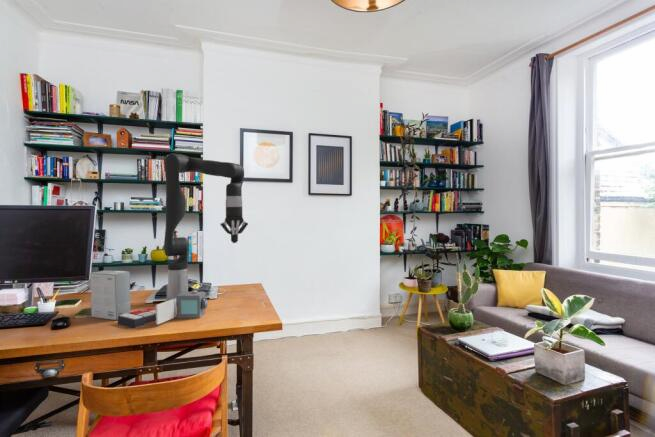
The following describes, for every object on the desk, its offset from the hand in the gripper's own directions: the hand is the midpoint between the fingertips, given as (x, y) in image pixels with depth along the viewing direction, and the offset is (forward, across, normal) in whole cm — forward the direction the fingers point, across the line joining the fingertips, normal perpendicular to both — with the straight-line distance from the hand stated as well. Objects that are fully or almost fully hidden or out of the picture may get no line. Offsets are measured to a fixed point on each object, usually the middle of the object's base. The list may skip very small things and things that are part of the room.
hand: (234, 242), depth 159 cm
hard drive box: (+32, -50, +20) cm, 63 cm away
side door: (+31, -31, -2) cm, 44 cm away
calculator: (+33, -38, +6) cm, 51 cm away
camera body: (+32, -19, +1) cm, 37 cm away
